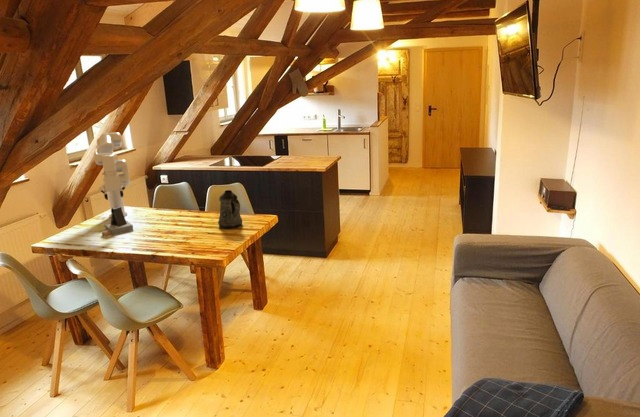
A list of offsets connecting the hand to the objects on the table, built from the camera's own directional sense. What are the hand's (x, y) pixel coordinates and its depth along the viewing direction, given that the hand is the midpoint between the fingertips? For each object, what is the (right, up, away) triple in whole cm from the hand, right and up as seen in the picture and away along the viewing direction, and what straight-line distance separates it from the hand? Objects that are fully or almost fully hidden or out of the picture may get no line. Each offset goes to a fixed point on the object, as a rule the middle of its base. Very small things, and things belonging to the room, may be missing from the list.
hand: (114, 198), depth 316 cm
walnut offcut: (-3, -25, -5) cm, 26 cm away
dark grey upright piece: (+79, -19, +7) cm, 81 cm away
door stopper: (+1, -18, +5) cm, 19 cm away
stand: (+1, -22, +6) cm, 23 cm away
